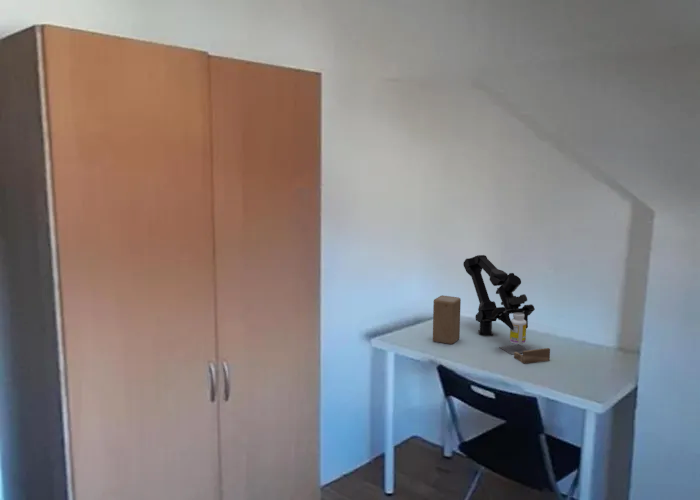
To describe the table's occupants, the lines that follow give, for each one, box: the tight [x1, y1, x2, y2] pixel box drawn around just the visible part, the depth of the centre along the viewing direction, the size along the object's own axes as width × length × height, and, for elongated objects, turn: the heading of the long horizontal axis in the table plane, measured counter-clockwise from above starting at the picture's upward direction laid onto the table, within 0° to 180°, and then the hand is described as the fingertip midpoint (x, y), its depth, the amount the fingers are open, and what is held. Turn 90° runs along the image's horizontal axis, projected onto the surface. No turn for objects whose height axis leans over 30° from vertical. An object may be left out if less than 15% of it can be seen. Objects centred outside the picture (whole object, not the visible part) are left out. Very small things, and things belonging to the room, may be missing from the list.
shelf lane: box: [513, 347, 551, 364], centre depth 251 cm, size 7×12×5 cm, turn 108°
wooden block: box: [432, 295, 461, 345], centre depth 275 cm, size 10×10×20 cm
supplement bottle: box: [509, 313, 527, 345], centre depth 260 cm, size 7×7×13 cm
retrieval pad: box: [499, 344, 529, 356], centre depth 263 cm, size 10×10×1 cm
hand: (520, 328), depth 259 cm, fingers closed on supplement bottle, 7 cm apart
